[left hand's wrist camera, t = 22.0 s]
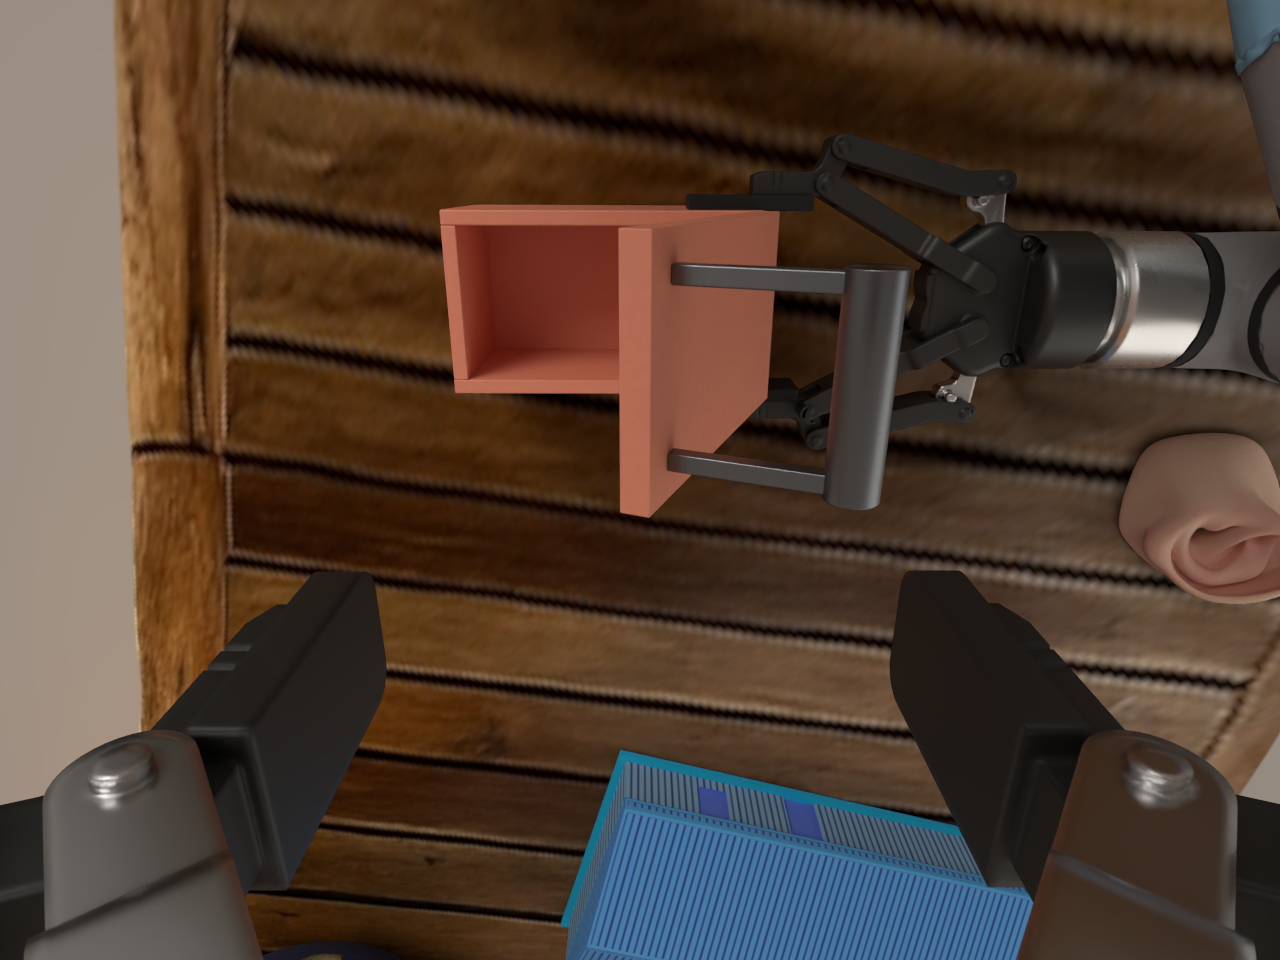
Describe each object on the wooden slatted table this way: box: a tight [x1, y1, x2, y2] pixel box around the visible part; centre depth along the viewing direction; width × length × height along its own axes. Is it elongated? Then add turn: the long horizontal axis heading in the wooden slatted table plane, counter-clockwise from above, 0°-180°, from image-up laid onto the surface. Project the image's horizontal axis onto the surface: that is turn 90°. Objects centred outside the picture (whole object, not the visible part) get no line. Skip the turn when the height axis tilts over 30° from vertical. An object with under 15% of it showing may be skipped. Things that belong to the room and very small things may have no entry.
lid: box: [618, 211, 911, 517], centre depth 31 cm, size 17×10×9 cm
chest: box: [439, 205, 764, 394], centre depth 44 cm, size 17×10×9 cm, turn 90°
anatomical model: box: [1119, 433, 1280, 604], centre depth 53 cm, size 13×4×12 cm
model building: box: [561, 750, 1033, 960], centre depth 64 cm, size 39×24×10 cm, turn 74°
